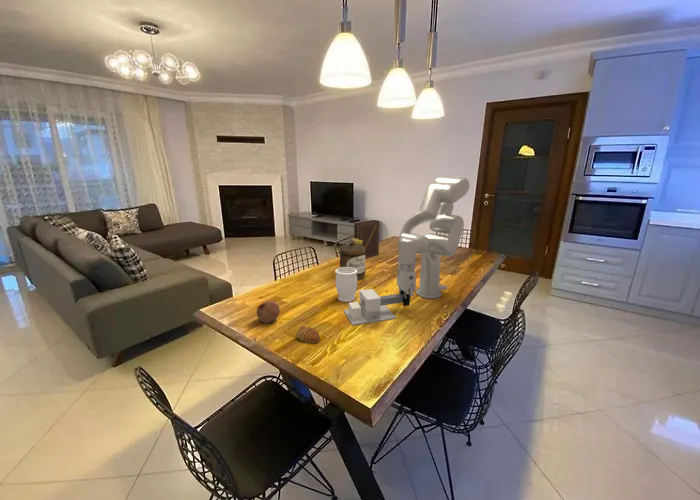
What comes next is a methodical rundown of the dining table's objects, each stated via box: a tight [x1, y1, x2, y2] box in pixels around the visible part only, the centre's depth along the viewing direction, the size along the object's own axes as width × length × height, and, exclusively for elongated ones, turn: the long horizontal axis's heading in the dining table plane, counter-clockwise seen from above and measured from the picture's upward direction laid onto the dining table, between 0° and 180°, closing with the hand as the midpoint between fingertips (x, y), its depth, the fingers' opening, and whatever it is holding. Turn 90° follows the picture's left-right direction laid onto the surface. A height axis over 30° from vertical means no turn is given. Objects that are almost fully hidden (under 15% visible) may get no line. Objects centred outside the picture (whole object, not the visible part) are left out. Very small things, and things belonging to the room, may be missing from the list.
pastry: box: [296, 325, 321, 344], centre depth 118 cm, size 9×7×4 cm
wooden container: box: [339, 239, 366, 282], centre depth 178 cm, size 15×15×22 cm
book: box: [351, 219, 380, 260], centre depth 214 cm, size 22×8×25 cm, turn 130°
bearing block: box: [343, 288, 397, 326], centre depth 134 cm, size 20×13×10 cm, turn 107°
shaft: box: [379, 293, 408, 306], centre depth 136 cm, size 20×3×3 cm, turn 107°
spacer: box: [348, 301, 361, 319], centre depth 133 cm, size 5×6×4 cm
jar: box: [335, 267, 358, 303], centre depth 150 cm, size 11×10×15 cm
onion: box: [256, 300, 281, 324], centre depth 130 cm, size 10×9×10 cm
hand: (404, 303), depth 140 cm, fingers closed on shaft, 3 cm apart
